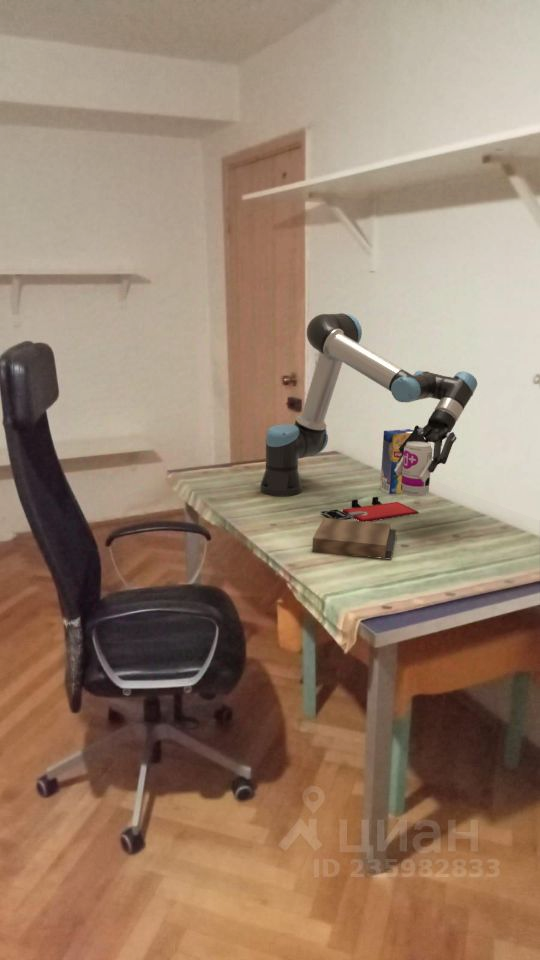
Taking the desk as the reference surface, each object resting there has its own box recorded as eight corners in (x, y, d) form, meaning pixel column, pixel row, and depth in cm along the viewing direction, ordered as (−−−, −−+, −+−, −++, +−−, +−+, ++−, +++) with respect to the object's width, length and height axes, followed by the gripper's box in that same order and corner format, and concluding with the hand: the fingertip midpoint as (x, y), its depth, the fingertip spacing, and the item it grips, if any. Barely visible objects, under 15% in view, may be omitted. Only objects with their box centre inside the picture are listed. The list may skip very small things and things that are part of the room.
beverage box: (415, 491, 245) (420, 432, 239) (389, 494, 241) (393, 434, 235) (405, 486, 251) (409, 429, 245) (379, 489, 247) (383, 430, 241)
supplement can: (412, 498, 194) (416, 448, 190) (395, 490, 202) (398, 442, 197) (434, 495, 198) (438, 445, 194) (416, 487, 205) (420, 440, 201)
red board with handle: (316, 512, 219) (342, 527, 207) (317, 504, 219) (342, 518, 206) (390, 502, 233) (418, 515, 220) (391, 494, 232) (419, 507, 219)
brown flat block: (312, 551, 186) (312, 537, 184) (323, 530, 202) (323, 517, 201) (390, 559, 181) (391, 545, 180) (395, 537, 197) (396, 524, 196)
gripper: (479, 429, 197) (444, 491, 191) (420, 418, 212) (385, 476, 206) (472, 413, 192) (435, 476, 186) (411, 404, 207) (375, 462, 201)
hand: (409, 476), depth 196 cm, fingers closed on supplement can, 8 cm apart
